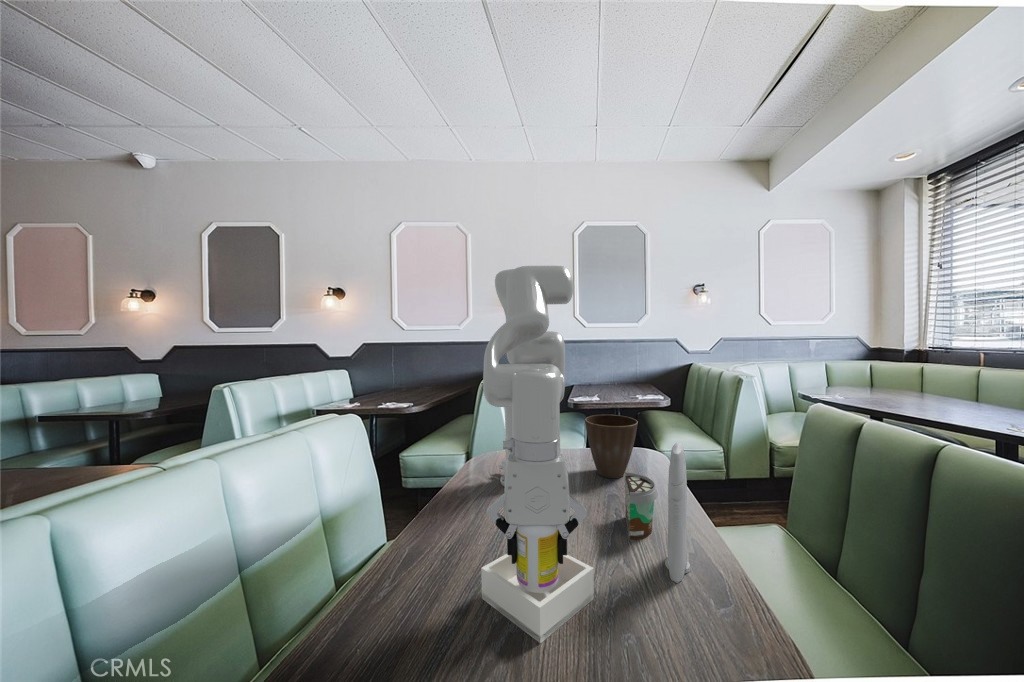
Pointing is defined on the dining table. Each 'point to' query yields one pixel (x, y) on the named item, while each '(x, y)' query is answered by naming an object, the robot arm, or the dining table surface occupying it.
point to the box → (538, 595)
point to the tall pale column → (677, 516)
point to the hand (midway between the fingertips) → (537, 557)
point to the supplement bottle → (537, 557)
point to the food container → (639, 504)
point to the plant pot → (611, 443)
